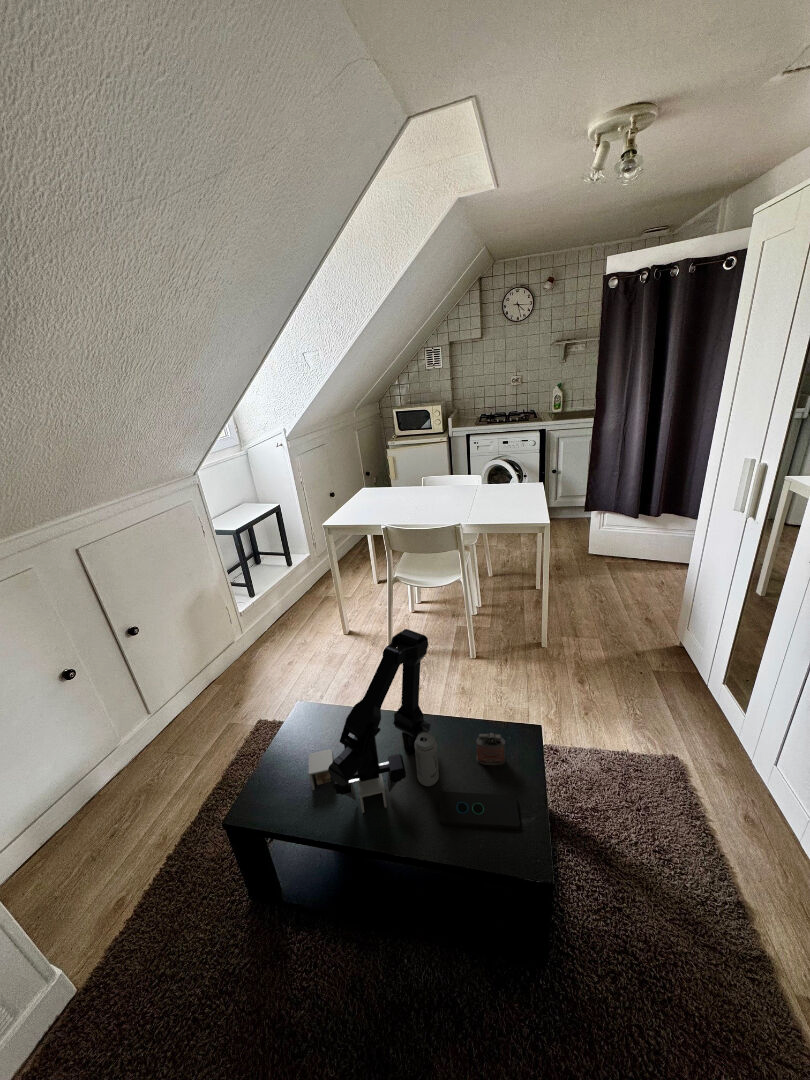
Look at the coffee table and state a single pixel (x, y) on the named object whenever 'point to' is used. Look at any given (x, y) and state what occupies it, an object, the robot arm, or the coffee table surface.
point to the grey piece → (319, 764)
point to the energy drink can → (426, 759)
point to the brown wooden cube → (323, 777)
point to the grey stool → (371, 789)
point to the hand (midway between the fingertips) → (372, 794)
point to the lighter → (490, 749)
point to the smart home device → (479, 810)
